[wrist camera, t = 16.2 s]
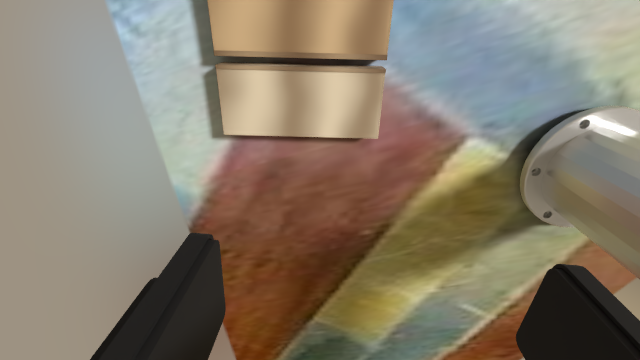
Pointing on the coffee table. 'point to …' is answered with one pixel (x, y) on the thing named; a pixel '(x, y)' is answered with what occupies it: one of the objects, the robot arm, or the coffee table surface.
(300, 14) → the plank
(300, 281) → the coffee table surface
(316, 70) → the laid board
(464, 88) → the coffee table surface
